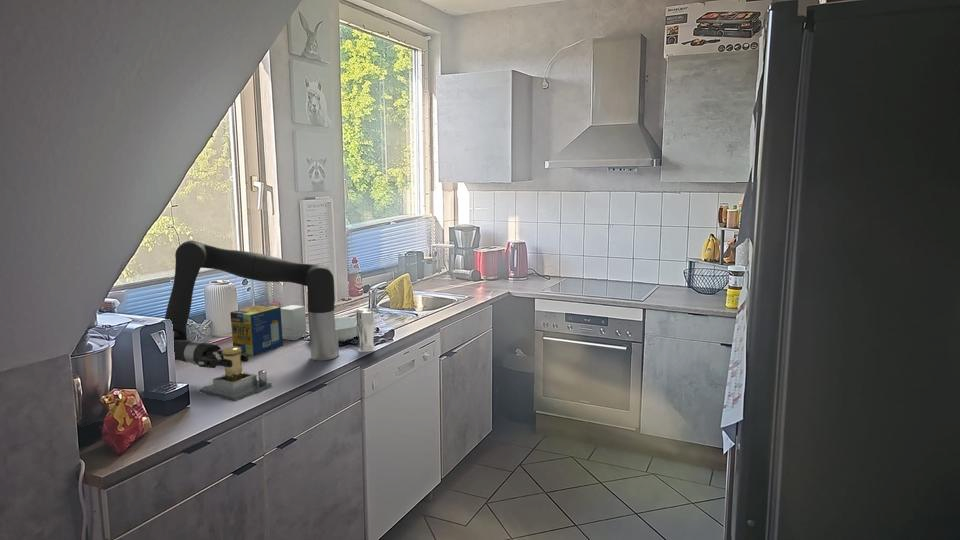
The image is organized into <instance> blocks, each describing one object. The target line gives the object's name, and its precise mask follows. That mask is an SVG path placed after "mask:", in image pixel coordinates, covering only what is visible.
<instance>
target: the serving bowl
mask: <svg viewBox="0 0 960 540" xmlns="http://www.w3.org/2000/svg"><path fill="white" fill-rule="evenodd" d="M335 327H336V329H337V330H338V341H343V342H345V341H344V340H347V341H349V340H352V339H354V337H355V338H356V336H357V337H358V334H357V329H356V317H352V316H351V317H348V316H346V317H345V316H342V317H341V316H339V317H335ZM348 339H349V340H348Z"/></svg>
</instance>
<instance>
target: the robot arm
mask: <svg viewBox="0 0 960 540" xmlns="http://www.w3.org/2000/svg"><path fill="white" fill-rule="evenodd" d="M174 257H175V268H174V269H175V270H174V272H175V273H174V279H173V283H172V284H173V285H172V289H171V291H170V292H171V293H170V296H169V299H168V302H167V307H166V311H165V316H164V319H170V320H171V321H172V324H173V331H174V352H175V360H174V361H182V362H183V363H190V364H192V365H194V366H198V367H200V368H208V369H215V368H217V367H218V368H221V367H229V368H230V367H232V361H231V360H228V359H224V358H223V355H222V350H223V349H224V348H221V347H220V346H219V345H218V344H215V343H212V342H205V341H197V340H195V341H194V340H191V339H188V330H187V329H188V327H187V326H188V322H189V318H190V314H191V308H192V304H193V303H192V302H193V294H194V289H195V284H196V281H197V279H198V275H199V272H200V271H201V269H210V270H217V271H222V272H226V273H228V274H230V275H233V276H236V277H240V278H242V279H247V280H252V281H258V282H265V283H292V284H297V285H300V286H304V287H305V286H306V291H307V317H308V331H309V332H308V333H309V347H310V348H309V349H310V350H309V351H310V360H314V361H329V360H332V359H335V358H337V356H339V355H340V350H339V342H338V330H337V329H336V327H335V318H336V314H335V301H336V299H335V298H336V296H335V279H334V275H333V273H332V271H331V270H330V269H329V268H328V267H327V266H325V265H323V264H319V263H318V264H316V263H315V264H314V263H304V262H296V261H291V260H286V259H284V258H280V257H276V256H271V255H267V254H262V253H259V252H258V253H257V252H256V253H255V252H252V251H245V250H235V249H226V248H220V247H217V246H213V245H209V244H205V243H202V242H199V241H195V240H187V241H184V242H183V243H181V244H180V245H179V246H177V249H176V250H175V254H174ZM173 331H172V332H173ZM241 351H242V352H241V362H244V363H247V362H249V355H246V354H244V350H241Z"/></svg>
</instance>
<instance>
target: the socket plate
mask: <svg viewBox="0 0 960 540" xmlns="http://www.w3.org/2000/svg"><path fill="white" fill-rule="evenodd" d="M242 372H243V379H240V380H237V381H235V382H231V381H226V377H225V374H224V375H221V376H218V377H214V378H212V384H210V385H207V386H204V387H201V388H198V393H200V392H202V393H201V394H204V393H205V395H208V394H209V396H213V397H217V396H218V397H217V398H222V399H226V400H229V401H234V402H235V401H238V400H241V399H243V398H246V397H248V396H252V395H253V394H257V393H258V392H261V391H264V390H266V389H269V388H271V387H272V382H268V377H267V376H268V375H267V370H263V369H262V370H259V371H257V373H258V375H257V374H255V373H249V372H244V371H242ZM257 376H258V377H257Z"/></svg>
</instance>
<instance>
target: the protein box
mask: <svg viewBox="0 0 960 540" xmlns="http://www.w3.org/2000/svg"><path fill="white" fill-rule="evenodd" d="M281 308H282V307H281V306H276V305H275V306H274V305H268V304H262V303H261V304H257V305H253V306H249V307H246V308H242V309H238V310H235V311H230V313H229V314H230V323H231V335H232V336H231V337H232V347H233V346H238V347H241V350H244V354H246V355H248V356H250V357H251V356H252V357H253V356H257V355H259V354H262V353H265V352H269V351H272V350H274V348H275V349H277V347H278V348H280V346H281V347H283V346H284V341H283V340H284V339H283V337H282V322H281ZM268 350H269V351H268Z"/></svg>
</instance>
